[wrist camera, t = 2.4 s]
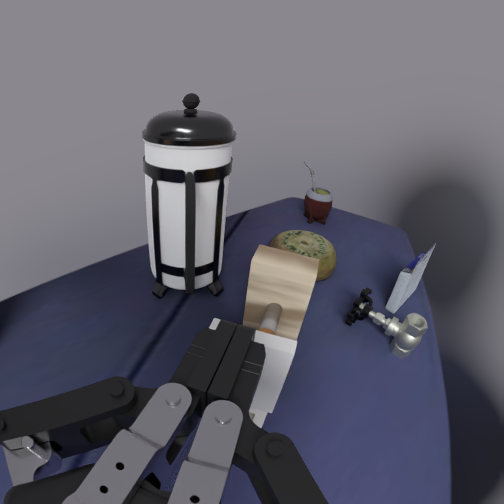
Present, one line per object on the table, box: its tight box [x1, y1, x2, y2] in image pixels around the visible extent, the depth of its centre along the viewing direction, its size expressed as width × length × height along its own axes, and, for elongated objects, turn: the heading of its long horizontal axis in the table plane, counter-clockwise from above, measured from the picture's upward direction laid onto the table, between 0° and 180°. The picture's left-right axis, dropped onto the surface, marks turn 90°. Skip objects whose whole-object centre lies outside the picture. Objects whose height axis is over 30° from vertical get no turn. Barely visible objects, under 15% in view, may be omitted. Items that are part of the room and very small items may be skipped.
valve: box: [345, 288, 428, 359], centre depth 42 cm, size 7×7×12 cm
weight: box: [269, 230, 336, 282], centre depth 58 cm, size 14×14×5 cm
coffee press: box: [142, 93, 236, 299], centre depth 42 cm, size 17×16×30 cm
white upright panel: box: [209, 318, 297, 428], centre depth 25 cm, size 4×6×14 cm, turn 74°
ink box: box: [385, 243, 436, 314], centre depth 49 cm, size 12×2×12 cm, turn 130°
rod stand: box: [243, 245, 319, 376], centre depth 33 cm, size 23×8×12 cm, turn 164°
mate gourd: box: [304, 162, 332, 225], centre depth 72 cm, size 8×8×15 cm
